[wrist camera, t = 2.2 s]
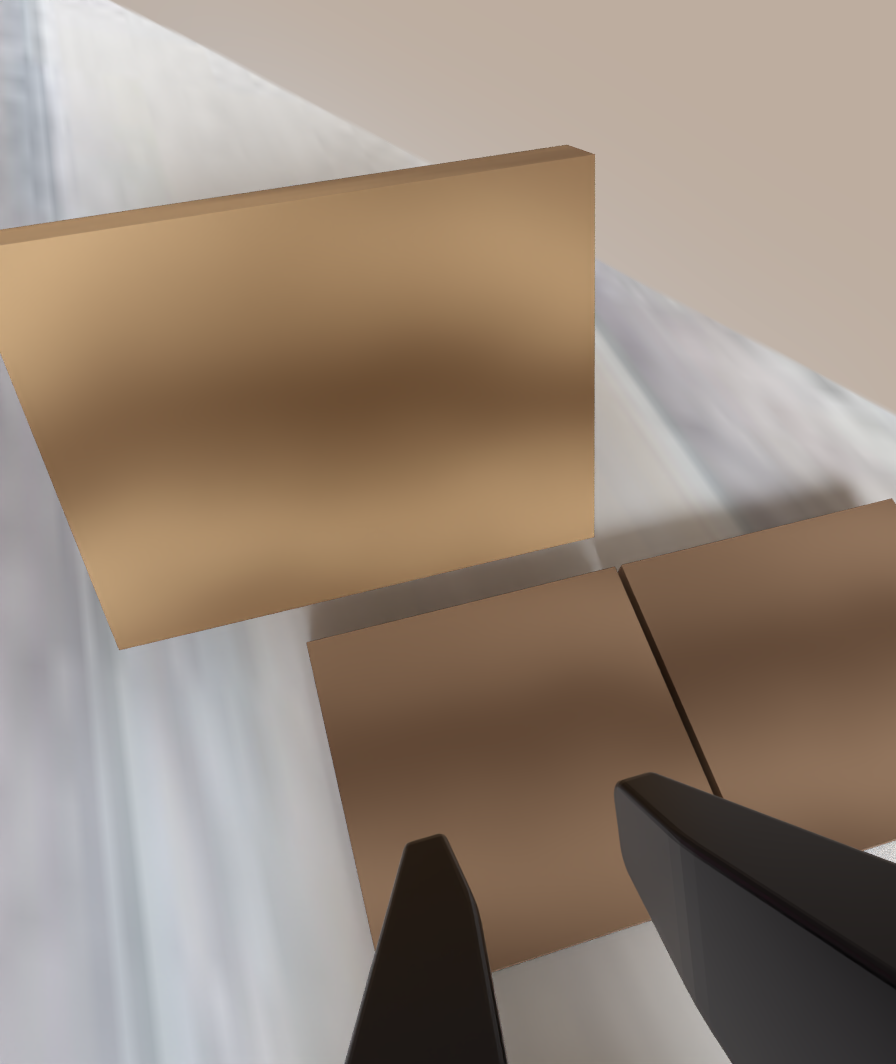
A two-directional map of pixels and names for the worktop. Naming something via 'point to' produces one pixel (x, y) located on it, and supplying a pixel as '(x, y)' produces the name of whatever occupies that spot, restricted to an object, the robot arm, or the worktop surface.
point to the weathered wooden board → (619, 718)
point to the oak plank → (312, 384)
